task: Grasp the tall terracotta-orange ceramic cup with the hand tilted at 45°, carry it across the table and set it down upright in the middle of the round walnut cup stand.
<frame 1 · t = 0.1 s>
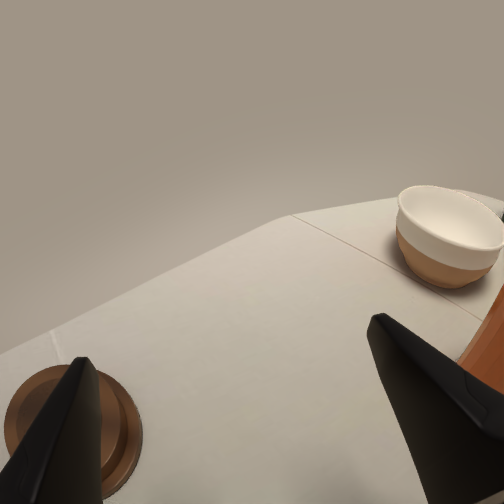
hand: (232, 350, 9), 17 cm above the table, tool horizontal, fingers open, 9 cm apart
stand: (69, 433, 20), on the table
bowl: (438, 263, 38), on the table
cup: (476, 389, 22), on the table
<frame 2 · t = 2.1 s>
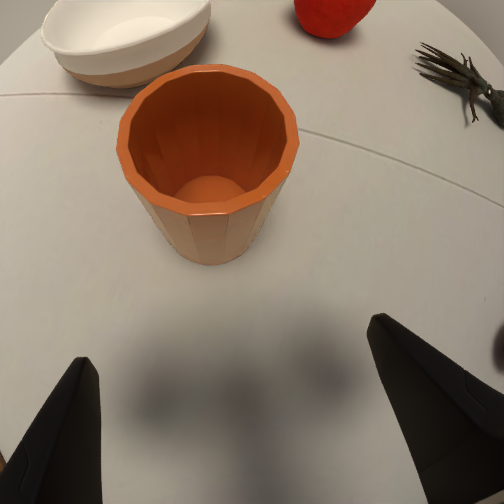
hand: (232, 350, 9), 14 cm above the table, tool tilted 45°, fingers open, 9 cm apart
bowl: (137, 52, 26), on the table
apple: (319, 28, 30), on the table
figurine: (463, 93, 31), on the table
cup: (210, 217, 24), on the table
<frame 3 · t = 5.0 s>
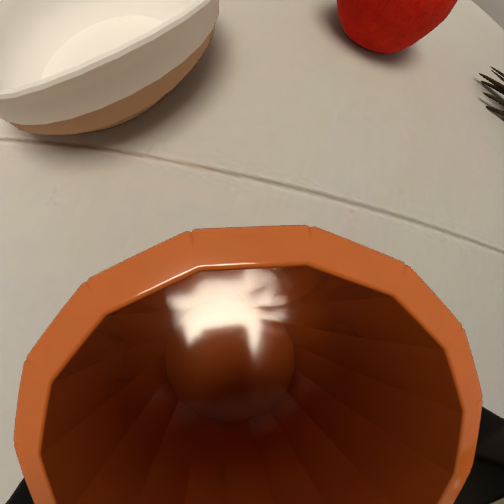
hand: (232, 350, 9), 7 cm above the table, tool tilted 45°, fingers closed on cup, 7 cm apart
bowl: (109, 70, 18), on the table
apple: (367, 37, 21), on the table
cup: (229, 359, 15), on the table, touching gripper
when the fingers open (9 cm above the table, at t = 14.5 s): cup stays where it is, resting on stand.
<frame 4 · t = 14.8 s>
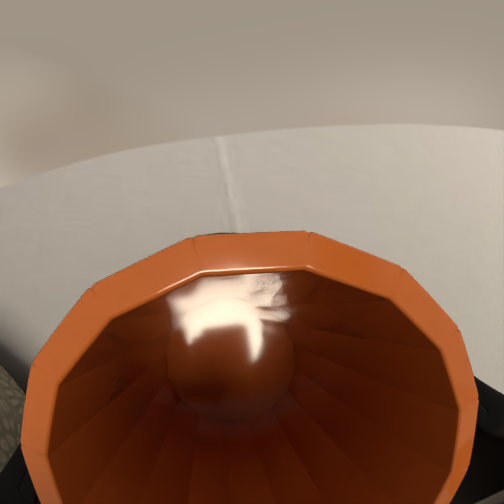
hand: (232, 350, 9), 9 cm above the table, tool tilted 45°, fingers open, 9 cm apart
cup: (230, 359, 15), point 3 cm above the table, touching stand
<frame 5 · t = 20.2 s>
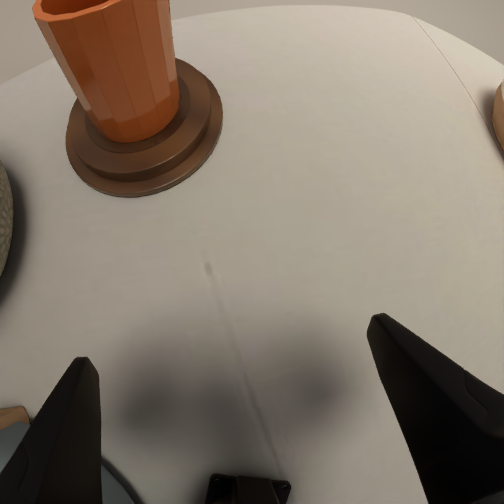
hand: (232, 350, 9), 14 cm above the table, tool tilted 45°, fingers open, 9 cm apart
stand: (141, 121, 24), on the table
alarm clock: (54, 500, 18), on the table
cup: (135, 104, 22), point 3 cm above the table, touching stand
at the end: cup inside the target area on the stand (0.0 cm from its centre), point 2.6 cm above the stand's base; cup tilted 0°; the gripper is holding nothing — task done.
